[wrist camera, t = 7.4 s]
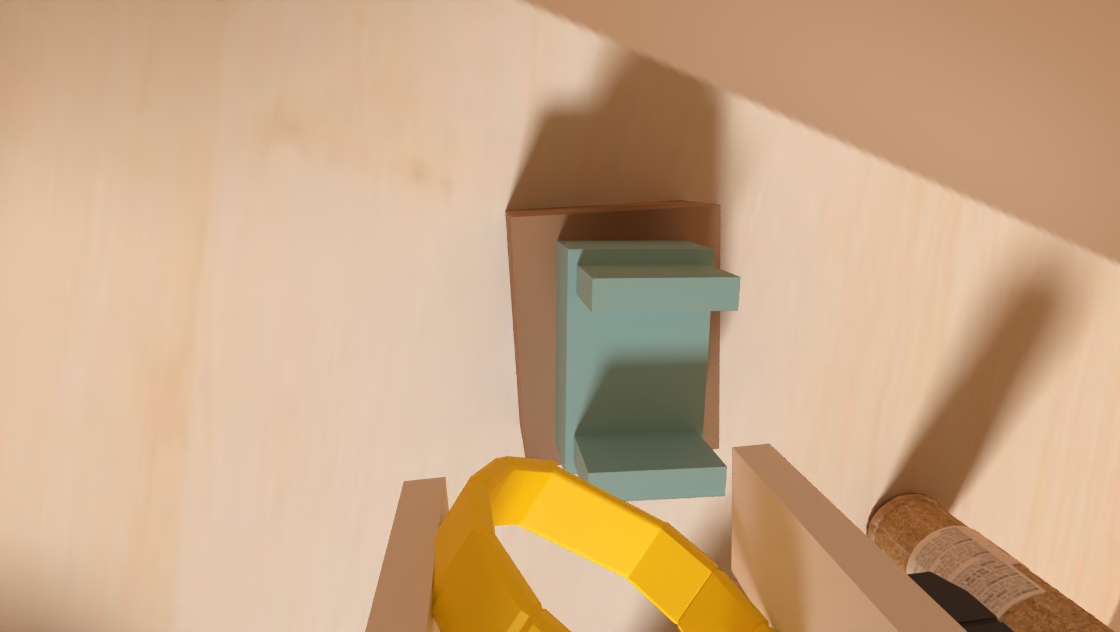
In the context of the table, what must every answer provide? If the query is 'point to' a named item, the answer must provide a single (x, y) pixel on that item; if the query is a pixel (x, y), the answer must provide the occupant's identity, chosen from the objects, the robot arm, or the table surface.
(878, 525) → the sprinkles bottle
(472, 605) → the watch
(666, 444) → the top block
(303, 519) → the table surface
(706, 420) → the bottom block
